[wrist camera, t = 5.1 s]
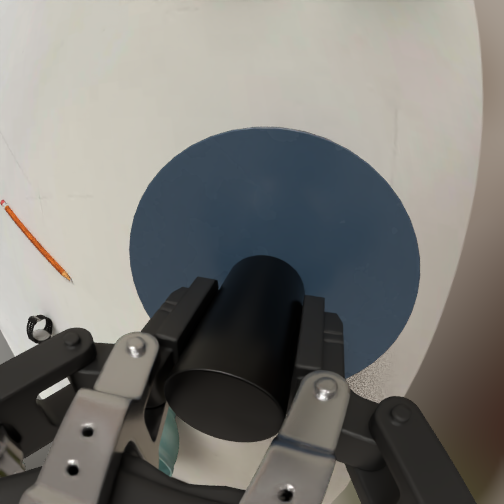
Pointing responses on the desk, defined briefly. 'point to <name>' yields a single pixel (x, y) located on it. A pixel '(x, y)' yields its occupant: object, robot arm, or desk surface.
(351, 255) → the lid
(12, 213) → the pencil
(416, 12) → the desk surface
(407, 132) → the desk surface
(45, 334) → the smartwatch
